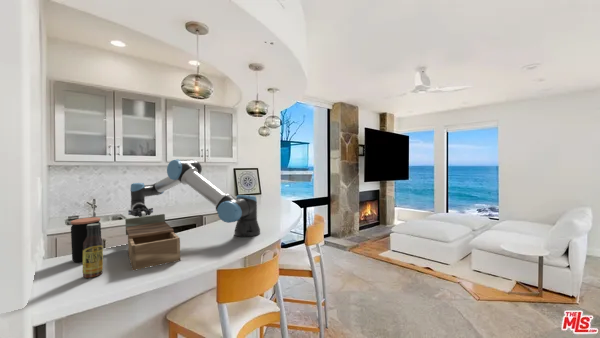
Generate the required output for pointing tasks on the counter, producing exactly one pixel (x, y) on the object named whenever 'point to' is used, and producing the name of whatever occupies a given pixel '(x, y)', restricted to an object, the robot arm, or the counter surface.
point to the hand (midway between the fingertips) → (144, 215)
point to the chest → (153, 250)
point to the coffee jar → (81, 236)
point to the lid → (146, 226)
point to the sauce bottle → (92, 252)
